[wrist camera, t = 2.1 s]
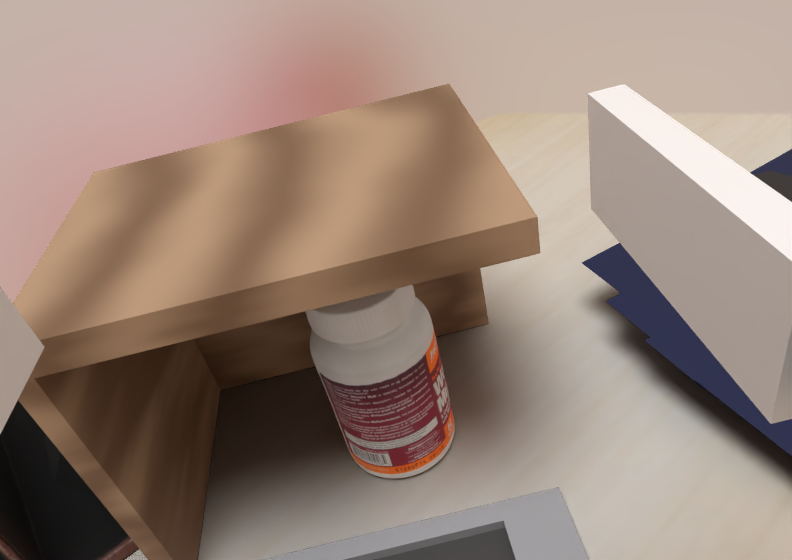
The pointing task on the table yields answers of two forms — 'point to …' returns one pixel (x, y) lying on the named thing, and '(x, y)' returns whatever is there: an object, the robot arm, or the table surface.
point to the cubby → (247, 283)
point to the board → (469, 535)
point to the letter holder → (50, 502)
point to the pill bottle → (384, 381)
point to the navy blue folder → (683, 328)
